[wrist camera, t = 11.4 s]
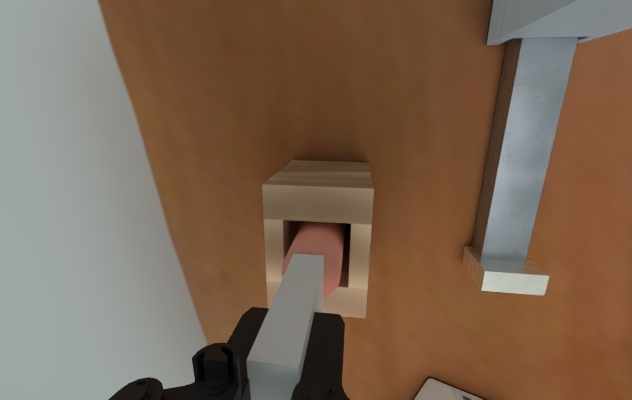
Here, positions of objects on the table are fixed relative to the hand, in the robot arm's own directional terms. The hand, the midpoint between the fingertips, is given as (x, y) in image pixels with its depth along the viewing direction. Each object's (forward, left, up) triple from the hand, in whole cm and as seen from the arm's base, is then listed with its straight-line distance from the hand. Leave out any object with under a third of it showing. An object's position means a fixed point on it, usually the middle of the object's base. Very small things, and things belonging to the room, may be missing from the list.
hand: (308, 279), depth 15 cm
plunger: (0, 0, -8) cm, 8 cm away
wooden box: (0, 0, -10) cm, 10 cm away
